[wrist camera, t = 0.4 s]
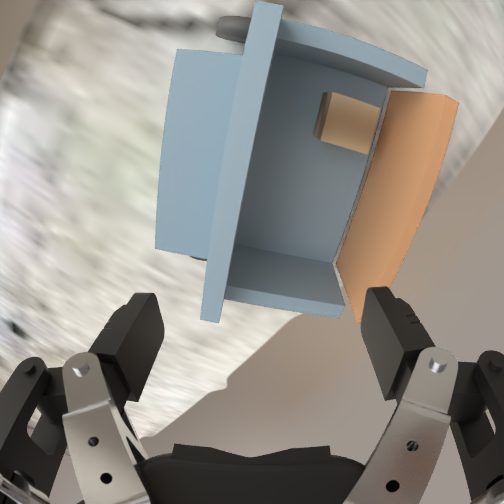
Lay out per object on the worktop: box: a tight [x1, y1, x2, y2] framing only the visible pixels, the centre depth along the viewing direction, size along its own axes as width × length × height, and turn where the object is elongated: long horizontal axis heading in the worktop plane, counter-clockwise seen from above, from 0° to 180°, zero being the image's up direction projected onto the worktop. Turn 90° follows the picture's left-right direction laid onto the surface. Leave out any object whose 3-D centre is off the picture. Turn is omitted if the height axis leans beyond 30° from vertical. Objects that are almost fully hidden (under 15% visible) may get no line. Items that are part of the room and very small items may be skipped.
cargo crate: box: [313, 92, 381, 155], centre depth 21 cm, size 4×4×4 cm
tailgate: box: [336, 91, 459, 323], centre depth 22 cm, size 19×2×9 cm, turn 169°
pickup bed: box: [155, 1, 428, 323], centre depth 24 cm, size 26×17×16 cm, turn 169°
